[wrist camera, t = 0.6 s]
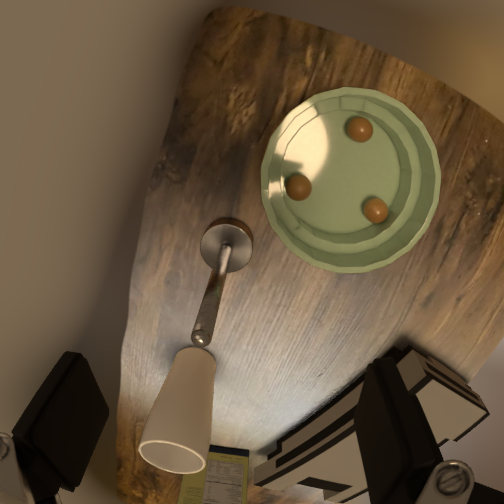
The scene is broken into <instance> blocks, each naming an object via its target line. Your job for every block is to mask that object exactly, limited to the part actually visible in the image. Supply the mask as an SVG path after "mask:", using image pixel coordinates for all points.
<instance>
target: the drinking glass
mask: <svg viewBox="0 0 504 504" xmlns="http://www.w3.org/2000/svg"><path fill="white" fill-rule="evenodd" d="M215 372H216V362H215V360H214V358H213V357H212V355H211V354H209V353H208V352H207V351H205V350H203V349H200V348H196V347H188V348H184V349H182V350H180V351H179V352H178V353H177V354H176V356H175V358H174V361H173V364H172V367H171V369H170V371H169V373H168V375H167V377H166V379H165V381H164V384H163V386H162V388H161V390H160V392H159V394H158V396H157V398H156V400H155V402H154V404H153V407H152V409H151V411H150V413H149V416H148V418H147V421H146V423H145V426H144V429H143V433H142V436H141V440H140V444H139V448H138V449H139V453H140V455H141V456H142V457H143V458H144V459H145V460H146V461H147V462H149V463H150V464H152V465H153V466H155V467H157V468H160V469H162V470H165V471H169V472H173V473H179V474H192V473H197V472H199V471H201V470H203V469H204V468H205V466H206V461H207V457H208V452H209V447H210V440H211V431H212V412H213V393H214V378H215Z"/></svg>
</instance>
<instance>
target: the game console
mask: <svg viewBox="0 0 504 504" xmlns="http://www.w3.org/2000/svg"><path fill="white" fill-rule="evenodd" d="M388 357H392V358H393V359H394V361H395V363H396V365H397V368H398V370H399V372H400V374H401V376H402V379H403V381H404V383H405V385H406V388H407V390H408V392H409V393H414V394H415V395H416V396H417V397H418V399H419V401H420V404H421V406H422V408H423V411H424V413H425V415H426V418H427V420H428V422H429V425H430V427H431V430H432V432H433V434H434V437H435V439H436V442H437V444H438V447H440V446H442V445H443V444H444V443H446V442H447V441H448V440H453V441H456V442H457V441H458V440H459V439H461V438H462V437H463V436H465V435H466V434H467V433H468V432H470V431H471V430H472V429H473V428H475V427H476V426H477V425H478V424H479V423H480V422H482V421H483V420H484V419H485V418H486V417H487V416H489V415H490V413H489V412H488V410H487V409H486V406H485V405H484V403H483V401H482V399H481V398H480V396H479V395H478V394H477V393H475V392H474V391H472V389H471V387H469V386H468V385H466V384H465V383H464V381H463V380H462V378H460V377H459V376H457V375H456V374H455V373H453V372H452V371H450V370H449V369H448V368H446V367H445V366H443V365H442V364H441V363H439V362H438V361H436V360H435V359H433V358H432V357H431V356H428V357H426V356H425V355H423V354H422V353H420V352H419V351H417V350H416V349H414V348H413V347H412V346H410V345H408V346H407V347H406V348H405V349H404V350H403V351H401V350H399V349H397V348H396V347H394V346H393V347H392V348H391V349H390V350H389V351H388V352H387V353H386V354H385V355H384V356H383V357H382V358H388ZM365 375H366V372H365V373H364V374H363V375H362V376H361V377H359V378H358V379H357V380H356V381H355V382H354V383H352V384H351V385H350V386H349V387H348V388H347V389H345V390H344V391H343V392H342V393H340V394H339V395H338V396H337V397H336V398H334V399H333V400H332V401H331V402H329V403H328V404H327V405H325V406H324V407H323V408H322V409H320V410H319V411H318V412H316V413H315V414H314V415H312V416H311V417H310V418H308V419H307V420H306V421H304V422H303V423H302V424H300V425H299V426H297V427H296V428H295V429H293V430H292V431H290V432H289V433H288V434H286V435H285V436H283V437H282V438H280V439H279V440H277V450H275V451H274V452H272V453H271V454H269V455H268V461H266V462H265V463H263V464H261V465H260V466H258V467H256V468H255V469H254V485H257V486H260V487H264V488H268V489H272V490H276V491H282V490H284V489H286V488H288V487H290V486H292V485H294V484H296V483H297V484H301V485H305V486H310V487H315V488H319V489H323V493H324V500H325V501H331V502H338V503H345V502H347V501H349V500H351V499H353V498H355V497H357V496H359V495H361V494H363V493H365V492H367V491H368V487H367V482H366V477H365V472H364V468H363V463H362V458H361V454H360V449H359V445H358V440H357V436H356V431H355V427H354V414H355V411H356V407H357V404H358V400H359V397H360V393H361V390H362V386H363V382H364V378H365Z"/></svg>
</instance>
